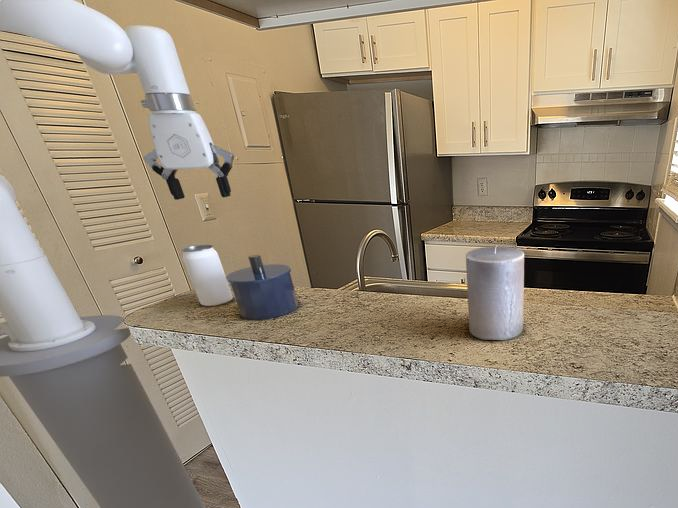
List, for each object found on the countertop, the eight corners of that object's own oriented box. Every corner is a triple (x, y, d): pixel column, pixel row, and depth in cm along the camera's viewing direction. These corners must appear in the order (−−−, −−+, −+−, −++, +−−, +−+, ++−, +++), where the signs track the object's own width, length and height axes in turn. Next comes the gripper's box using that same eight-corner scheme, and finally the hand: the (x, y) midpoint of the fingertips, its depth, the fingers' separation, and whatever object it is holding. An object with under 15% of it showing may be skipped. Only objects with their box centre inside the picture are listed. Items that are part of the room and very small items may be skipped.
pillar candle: (499, 314, 78) (499, 236, 71) (534, 331, 71) (537, 245, 64) (458, 328, 74) (453, 245, 66) (491, 347, 67) (489, 256, 59)
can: (236, 295, 94) (218, 243, 88) (230, 304, 89) (210, 249, 83) (205, 299, 92) (184, 246, 87) (197, 308, 87) (174, 253, 81)
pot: (234, 322, 80) (221, 285, 76) (249, 303, 89) (238, 270, 85) (293, 316, 82) (283, 280, 78) (301, 297, 91) (293, 265, 87)
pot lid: (219, 289, 76) (211, 266, 74) (237, 272, 86) (230, 251, 84) (285, 283, 78) (279, 260, 76) (296, 267, 88) (290, 246, 86)
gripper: (113, 106, 76) (151, 202, 85) (209, 103, 78) (238, 197, 86) (137, 108, 83) (170, 197, 91) (225, 106, 85) (250, 193, 93)
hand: (203, 197), depth 89 cm, fingers open, 9 cm apart
